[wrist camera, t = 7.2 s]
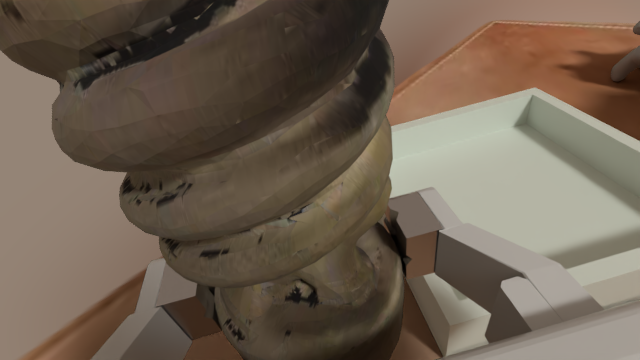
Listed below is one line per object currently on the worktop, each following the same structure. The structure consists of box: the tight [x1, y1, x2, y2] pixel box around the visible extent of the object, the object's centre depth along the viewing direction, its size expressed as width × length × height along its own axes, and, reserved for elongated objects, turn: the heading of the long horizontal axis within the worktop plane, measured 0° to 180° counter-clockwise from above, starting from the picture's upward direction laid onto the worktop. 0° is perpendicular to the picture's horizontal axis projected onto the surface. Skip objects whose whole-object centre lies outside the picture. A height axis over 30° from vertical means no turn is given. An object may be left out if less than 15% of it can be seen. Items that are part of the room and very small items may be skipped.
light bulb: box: [0, 0, 404, 360], centre depth 9 cm, size 6×6×15 cm
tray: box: [378, 88, 640, 357], centre depth 24 cm, size 18×18×4 cm
